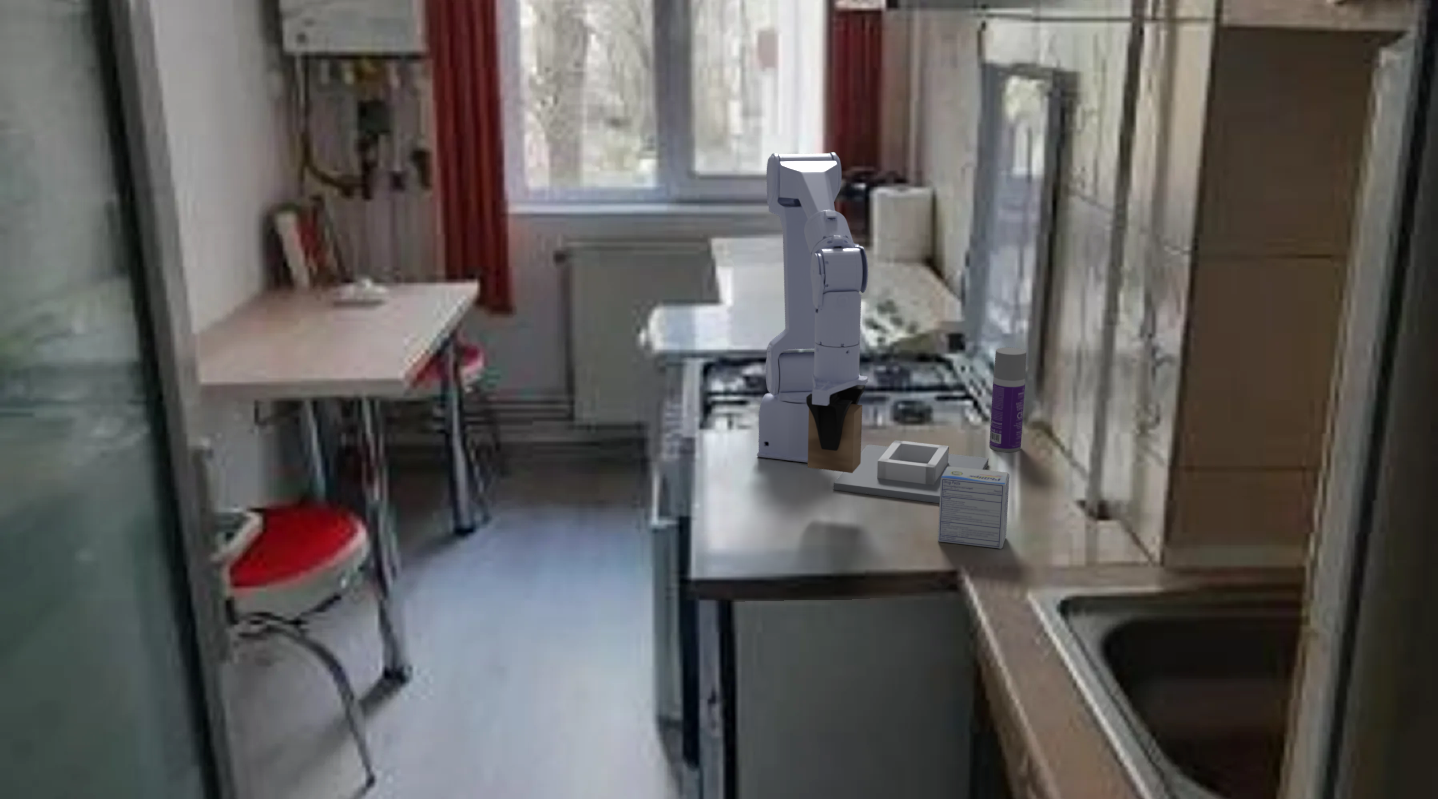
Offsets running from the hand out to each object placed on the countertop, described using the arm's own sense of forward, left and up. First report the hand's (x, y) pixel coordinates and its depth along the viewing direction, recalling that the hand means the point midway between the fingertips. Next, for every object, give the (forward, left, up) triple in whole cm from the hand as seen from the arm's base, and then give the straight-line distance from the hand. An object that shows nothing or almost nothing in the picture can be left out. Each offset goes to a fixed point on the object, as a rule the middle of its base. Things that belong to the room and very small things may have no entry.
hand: (834, 444), depth 165 cm
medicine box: (+19, -4, -9) cm, 21 cm away
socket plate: (+7, +16, -9) cm, 20 cm away
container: (+17, +34, -9) cm, 39 cm away
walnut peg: (0, 0, -3) cm, 3 cm away
